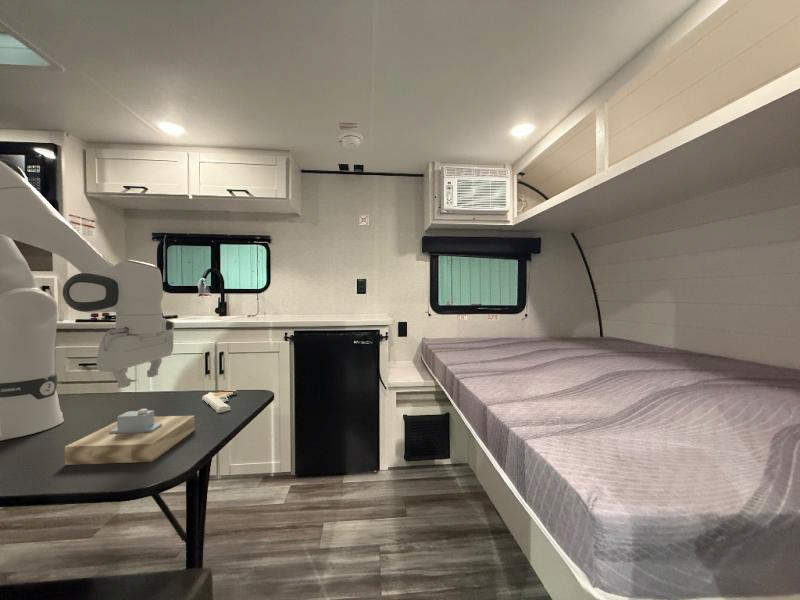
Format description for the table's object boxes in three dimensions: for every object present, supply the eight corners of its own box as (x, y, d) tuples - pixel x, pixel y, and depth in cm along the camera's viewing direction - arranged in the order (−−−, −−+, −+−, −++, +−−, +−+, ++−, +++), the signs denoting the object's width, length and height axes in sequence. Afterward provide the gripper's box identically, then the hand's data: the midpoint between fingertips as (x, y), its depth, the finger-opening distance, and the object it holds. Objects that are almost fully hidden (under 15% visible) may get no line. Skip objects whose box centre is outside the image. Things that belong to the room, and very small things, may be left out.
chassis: (65, 464, 67) (64, 446, 67) (125, 432, 83) (125, 417, 82) (152, 461, 68) (152, 443, 68) (194, 429, 84) (194, 415, 84)
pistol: (254, 405, 104) (217, 415, 96) (232, 392, 117) (198, 400, 109) (254, 398, 104) (217, 407, 95) (232, 386, 117) (198, 393, 109)
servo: (109, 450, 73) (109, 413, 73) (120, 443, 76) (120, 408, 76) (152, 448, 74) (152, 412, 74) (162, 441, 77) (161, 407, 77)
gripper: (119, 330, 66) (118, 394, 66) (178, 322, 86) (177, 371, 86) (87, 330, 65) (86, 394, 65) (154, 322, 85) (153, 371, 85)
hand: (139, 381), depth 76 cm, fingers open, 8 cm apart
